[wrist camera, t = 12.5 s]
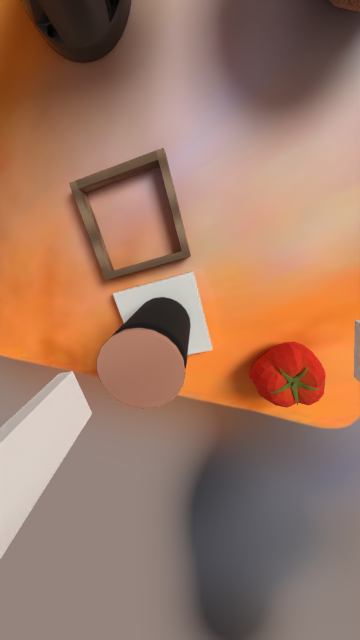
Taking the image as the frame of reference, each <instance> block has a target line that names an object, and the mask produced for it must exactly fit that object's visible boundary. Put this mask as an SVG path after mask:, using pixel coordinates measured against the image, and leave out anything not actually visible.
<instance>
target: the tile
mask: <svg viewBox="0 0 360 640" xmlns="http://www.w3.org/2000/svg"><path fill="white" fill-rule="evenodd" d="M113 296H114V299H115V301H116V304H117V307H118V309H119V312H120V315H121V317H122V320H123V323H125V322H126V321H127V320H128V319H129V318H130V317H131V316H132V315H133V314H134V313H135V312H136V311H137V310H138V309H139V308H140V307H141V306H142V305H143V304H144V303H145V302H147V301H149V300H151V299H153V298H158V297H166V298H171V299H173V300H175V301H177V302H179V303H180V304H181V305H182V306H183V307H184V308H185V309H186V311H187V313H188V315H189V317H190V324H191V327H190V336H189V345H188V355H190V354H195V353H200V352H205V351H209V350H212V344H211V340H210V336H209V332H208V328H207V324H206V320H205V316H204V312H203V308H202V303H201V299H200V295H199V291H198V287H197V283H196V279H195V275H194V271H191V272H187V273H184V274H180V275H176V276H173V277H169V278H165V279H161V280H158V281H154V282H150V283H147V284H143V285H139V286H136V287H132V288H128V289H124V290H121V291H117V292H115V293H113Z"/></svg>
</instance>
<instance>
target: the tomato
mask: <svg viewBox="0 0 360 640" xmlns="http://www.w3.org/2000/svg"><path fill="white" fill-rule="evenodd" d="M250 378H251V380H252V381H253V382H254V384H255V385H256V387H257V390H258V393H259V394H260V395H261V396H262V397H264V398H265V399H266V400H268V401H270V402H271V403H273V404H275V405H278V406H282V407H289V406H292V405H294V404H296V403H297V405H298V403H302V404H306V405H311V404H313V403H315V402H317V401H318V400H319V399H320V398H321V397H322V396H323V394H324V385H325V371H324V369H323V367H322V365H321V363H320V361H319V360H318V359H317V357H316V356H315V355H314V354H313V352H312V351H310V350H309V349H308V348H306V347H305V346H303V345H302V344H299V343H296V342H286V343H282V344H279V345H277V346H275V347H273V348H272V349H270V350H269V351H268V352H267V353H266V354H265V355H264V356H262V357H260V358H259V359H258V360H257V361H256V362H255V363H254V365H253V366H252V369H251V372H250Z"/></svg>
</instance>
